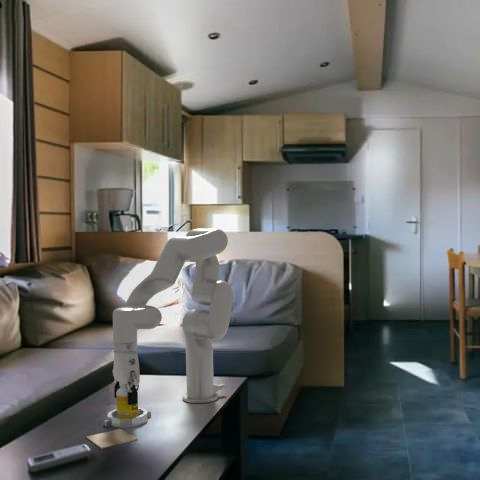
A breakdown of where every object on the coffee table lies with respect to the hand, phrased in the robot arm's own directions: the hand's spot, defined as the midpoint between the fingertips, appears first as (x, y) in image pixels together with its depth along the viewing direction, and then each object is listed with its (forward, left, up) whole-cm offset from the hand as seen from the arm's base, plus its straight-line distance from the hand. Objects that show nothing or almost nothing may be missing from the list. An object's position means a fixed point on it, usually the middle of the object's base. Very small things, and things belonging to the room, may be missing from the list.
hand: (125, 400), depth 202 cm
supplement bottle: (-1, 0, -7) cm, 7 cm away
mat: (+10, +12, -7) cm, 17 cm away
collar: (-1, 0, -7) cm, 7 cm away
